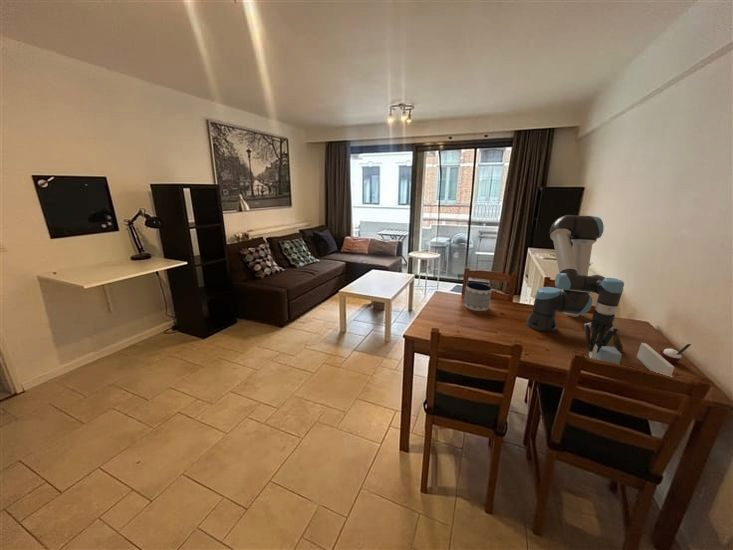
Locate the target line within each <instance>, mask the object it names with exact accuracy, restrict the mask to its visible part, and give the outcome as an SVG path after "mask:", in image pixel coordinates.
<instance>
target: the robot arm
mask: <svg viewBox="0 0 733 550" xmlns="http://www.w3.org/2000/svg"><path fill="white" fill-rule="evenodd" d="M550 226H551V227H550V229H549V237H550V240H552V241H553V246H554V252H555V257H556V263H557V269H558V273H557V274H555V277H554V285H555V287H553V286H544V287H540V288H538V289H537V290H536V292H535V295H534V302H533V307H532V311H531V313H530V315H529V316H528V318H527V319H526V323H525V324H526V325H527V327H529V328H531V329H533V330H536V331H538V332H544V333H552V332H555V331H556V329H557V322H556V314H557V313H563V314H564V313H572V314H579V315H585V314H587V313H589V312H590V309H591V308H592V306H593V305H592V304H593V297H592V296H591V295H589V294H588V292H593V293H595V294H597V300H596V303H595V307H594V309H595V310H594V311H593V315H592V319H591V320H590V321H589V322H588V323H586V322H584V323H583V326H584V327H585V333H584V335H585V342H586V343H587V345H588V349H587V350H588V352H589V353H588V357H589V359H591V358H592V359H591V360H596V359H595V356H596V353H598V352H599V350H600V348H602V347H601V346H604V347H605V346H607V344H608V342H609V341H610V339H611V337H612V336H613V334H614V333H615V332H617V333H618V331H619V330H618V328H617V327H615V326H614V324H613V322H614V320H615V317H616V315H615V314H616V312H617V310H618V307H619V303H620V300H621V297H622V294H623V292H624V286H625V282H624V280H622V279H618V278H614V277H604V276H603V275H600V274H594V275H589V269H590V266H589V263H590V262H591V255H592V251H593V250H592V249H593V245H594V244H595V243H596V242H597V240H598V239H600V238H601V237H602V235H603V234H604V230H605V228H604V227H605V226H604V223H603V220H602V218H601V217H599V216H594V215H593V216H592V215H579V214H578V215H574V214H573V215H572V214H566V215H563V216H560V217H558V218H557V219H556V220H555V221H554V222H553V223H552V225H550ZM562 289H563V292H562ZM591 328H592V333H591ZM606 333H607V334H606ZM605 334H606V335H605ZM604 335H605V337H604Z"/></svg>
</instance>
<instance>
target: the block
mask: <svg viewBox="0 0 733 550" xmlns="http://www.w3.org/2000/svg"><path fill="white" fill-rule="evenodd" d="M601 347H602V348H600V350H599V352H598V353H596V356H595V359H594V360H596V359H597V360H602V361H607V362H612V363H616V364H619V365H620V363H621V360H622V356H623V354H622V352H620V351H618V350H617V349H616V348H615V347H610V346H607V345H606V346H605V347H604V346H601Z"/></svg>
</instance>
